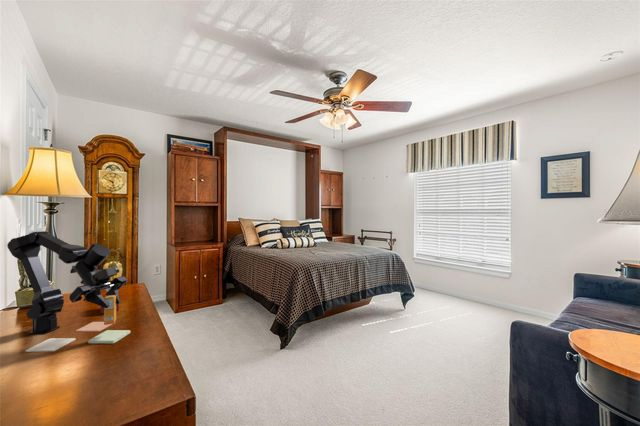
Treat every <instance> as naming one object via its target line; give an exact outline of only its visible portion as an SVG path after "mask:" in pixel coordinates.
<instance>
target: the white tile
mask: <svg viewBox="0 0 640 426" xmlns="http://www.w3.org/2000/svg"><path fill="white" fill-rule="evenodd" d="M75 340H76V338H75V337H73V338H72V337H69V338H68V337H66V338H65V337H64V338H63V337H62V338H61V337H58V338H54V337H53V338H51V337H50V338H48V339H46V340H44V341H42V342H40V343H38V344H36V345H34V346H31V347H30V348H27V349H26V350H25V352H26V353H27V352H29V353H30V352H31V353H32V352H33V353H34V352H38V353H39V352H55V351H57V350H59V349H61V348H62V347H65V346H66V345H68V344H69V343H72V342H74V341H75Z"/></svg>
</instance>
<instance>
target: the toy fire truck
mask: <svg viewBox="0 0 640 426" xmlns="http://www.w3.org/2000/svg"><path fill="white" fill-rule="evenodd" d="M119 310H120V303H119V304H116V312H118V311H119ZM100 314H104V307H101V306H100Z"/></svg>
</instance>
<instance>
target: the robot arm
mask: <svg viewBox="0 0 640 426" xmlns="http://www.w3.org/2000/svg"><path fill="white" fill-rule="evenodd" d="M6 245H7V246H6V247H7V249H8V251H9V252H10V254H11V255H12V256H13V257H14V258H16V259H17V260H18V261H20V262H21V264H22V267H23V269H24V272H25V274H26V276H27V278H28V279H27V280H29V284H30V286H31V288H32V291H33V293H34V294H33V297H32V300H31V303H32V306H31V307H30V308H29V310H27V312H26V318H27V319H32V330H31V331H29V332H28V335H30V334H31V335H32V334H33V335H45V334H48V333H51V332H52V331H55V330H57V329H59V328H60V327H61V326H60V325H58V317H57V313H61V312H62V309H63V306H64V303H65V300H64V298H65V296H64V295H63V294H62V291H61V289H60V288H57V289H56V288H53V287H52V285H51V283H50V280H49V278H48V276H47V273H46V271H45V268H44V267H43V264H42V262H41V260H40V257H39V254H40V252H41V246H42V247H44V248H45V249H48V250H49V251H51V252H53V253H54V254H57V256H58V259H59V260H60V261H62V262H63V263H65V264H67V265H69V264H73V263H75V265H72V266H71V269H70V271H69V273H70V274H76V273H77V275H78V276H79V278H80V279H81V281H80V284H81V285H80V286H77V287H76V288H75V289H74V290H73V291H72V292H71V293H69V297H68V298H69V300H70V302H71V303H76V302H80V301H83V302H89V303H91V304H95V305H97V306H99V307H100V308H101V307H104V308H108V304H107V302H106V301H105V299H104V298H105V297H103V295H102V294H101V292H102V290H103V291H104V290H105V291H106V293H105V295H106V296H110V295H116V304H119V305H120V303H121V301H120V300H121V299H120V296H119V290H120V289H122V287H123V286H124V285H125V284H127V282H128V279H127V277H126V276H124V275H121V276H118V277H114V276H117V275H118V274H119V273H120V268H119V267H118V266H117V265H116V264H114V265H111V266H108V267H106V268H103V269H98V266H101V264H102V263H103V262H104V261H105V260H106V259H107V258H108V256H110V254H111V251H110V249H109V248H107V247H106V246H104V245H100V244H99V243H98V242H97V243H92V244H91V245H90V246H89V248H87V247H85V246H82V245H77V244H70V243H69V242H66V241H64V240H62V239H60V238H58V237H56V236H54V235H52V234H50V232H48V231H45V230H43V231H33V232H30V233H28V234H25V235H21V236H18V237H14V238H11V239H10V241H8V242H7V244H6ZM112 277H114V278H113V279H112ZM111 279H112V280H111ZM83 296H84V298H83Z"/></svg>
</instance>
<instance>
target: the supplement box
mask: <svg viewBox="0 0 640 426" xmlns="http://www.w3.org/2000/svg"><path fill="white" fill-rule="evenodd" d="M103 298H104V299H105V301H106V302H107V304H108V308H104V313H103V322H104V325H107V324H112V325H113V324H116V322H117V311H116V295H110V296H107V295H106V296H105V297H103Z"/></svg>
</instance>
